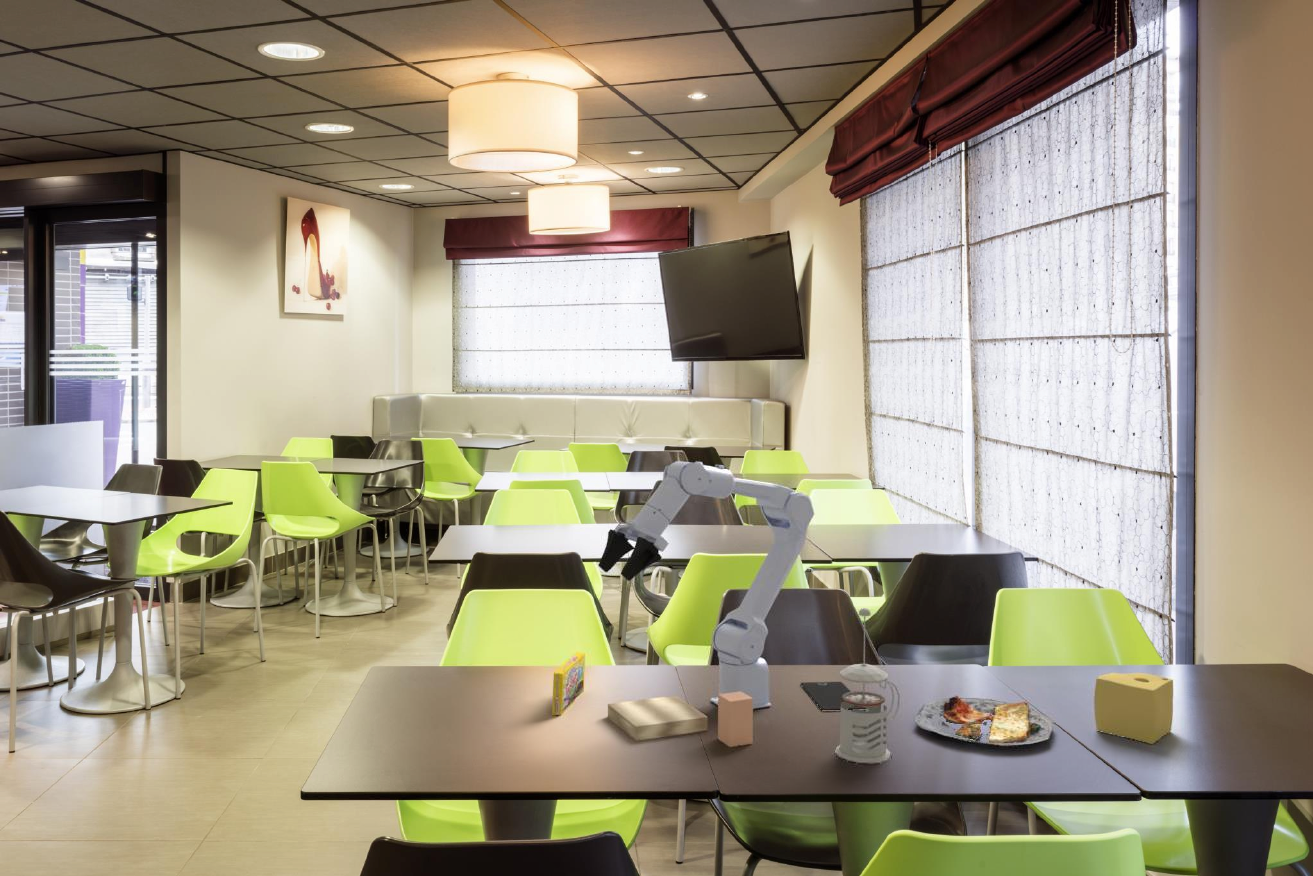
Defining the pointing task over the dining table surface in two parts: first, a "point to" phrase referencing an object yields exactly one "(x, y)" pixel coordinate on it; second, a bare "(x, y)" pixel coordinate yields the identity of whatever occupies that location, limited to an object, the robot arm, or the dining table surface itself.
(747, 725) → the terracotta block
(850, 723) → the french press
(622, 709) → the birch block
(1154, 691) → the cheese
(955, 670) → the dining table surface
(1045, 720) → the food plate
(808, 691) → the cell phone
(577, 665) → the candy box
